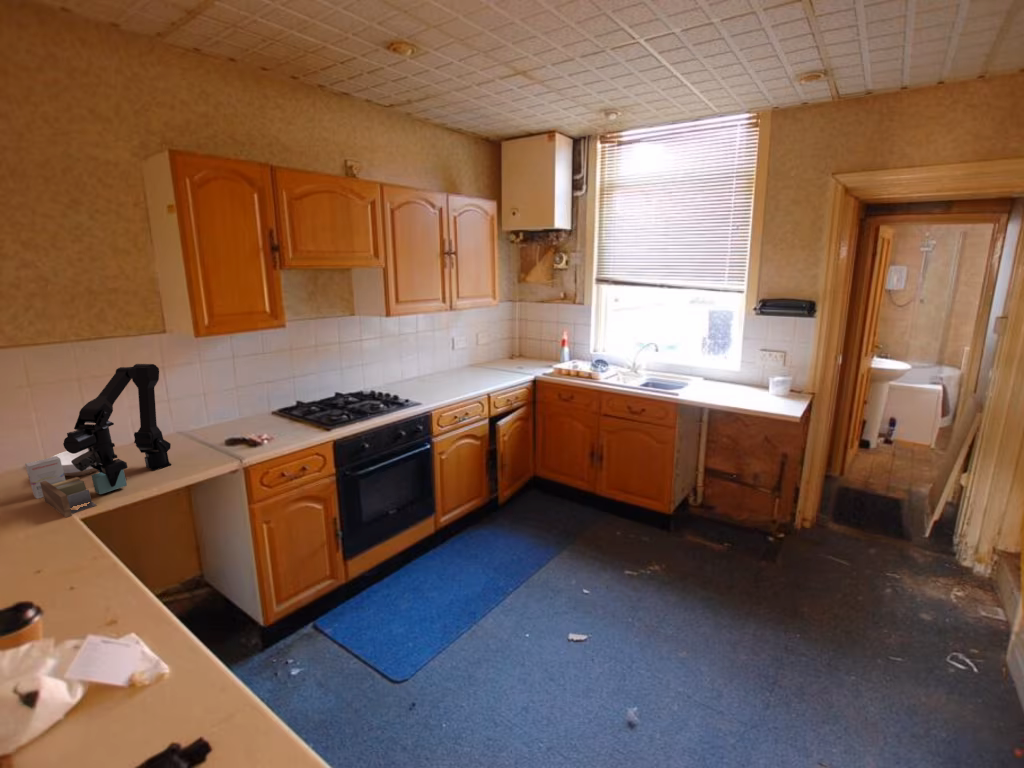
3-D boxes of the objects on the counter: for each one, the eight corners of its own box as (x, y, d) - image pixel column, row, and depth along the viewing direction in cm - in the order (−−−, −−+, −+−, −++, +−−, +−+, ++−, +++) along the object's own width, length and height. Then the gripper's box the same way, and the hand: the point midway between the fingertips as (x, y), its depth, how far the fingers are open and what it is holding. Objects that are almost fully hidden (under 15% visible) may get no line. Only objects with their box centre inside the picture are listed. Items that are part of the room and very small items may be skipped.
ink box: (64, 486, 188) (56, 454, 185) (68, 490, 185) (60, 458, 182) (32, 495, 182) (24, 462, 179) (36, 499, 179) (27, 466, 176)
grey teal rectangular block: (122, 482, 188) (118, 467, 186) (127, 485, 185) (123, 469, 184) (95, 491, 181) (91, 475, 180) (99, 494, 179) (96, 478, 177)
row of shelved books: (80, 491, 184) (77, 476, 182) (87, 496, 180) (84, 481, 179) (51, 500, 177) (47, 485, 176) (58, 505, 174) (54, 490, 173)
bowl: (103, 477, 195) (99, 461, 193) (39, 484, 190) (34, 468, 188) (124, 457, 213) (121, 443, 212) (66, 463, 208) (62, 448, 206)
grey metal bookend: (91, 501, 176) (88, 489, 175) (96, 505, 174) (93, 492, 173) (64, 510, 171) (61, 497, 170) (70, 514, 168) (67, 501, 167)
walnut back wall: (50, 500, 178) (45, 480, 176) (71, 515, 167) (66, 495, 166) (44, 501, 177) (39, 482, 175) (66, 517, 166) (60, 496, 164)
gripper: (61, 443, 178) (71, 487, 182) (82, 455, 167) (93, 501, 171) (100, 434, 186) (109, 475, 191) (123, 444, 176) (132, 488, 180)
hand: (110, 484), depth 183 cm, fingers closed on grey teal rectangular block, 4 cm apart
